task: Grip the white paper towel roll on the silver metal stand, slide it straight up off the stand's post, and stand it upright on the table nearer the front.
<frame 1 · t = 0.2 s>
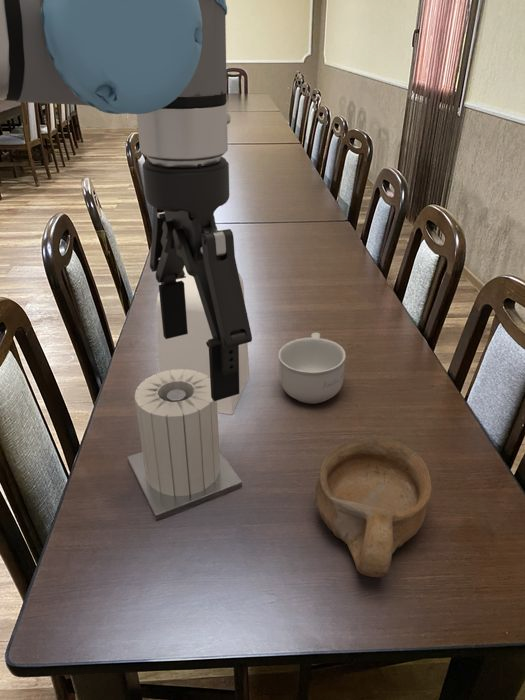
hand: (198, 363, 58), 22 cm above the table, tool pointing down, fingers open, 13 cm apart
towel stand: (183, 474, 74), on the table
teacup: (311, 388, 92), on the table
paper towel roll: (183, 468, 73), point 1 cm above the table, touching towel stand
milk: (207, 390, 91), on the table
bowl: (371, 533, 66), on the table
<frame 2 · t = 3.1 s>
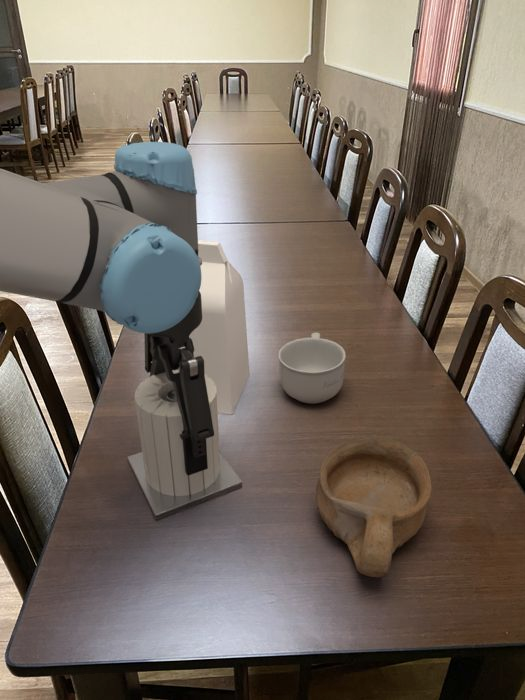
hand: (180, 445, 71), 5 cm above the table, tool pointing down, fingers closed on paper towel roll, 10 cm apart
paper towel roll: (183, 468, 73), point 1 cm above the table, touching gripper, towel stand
everything else where it was.
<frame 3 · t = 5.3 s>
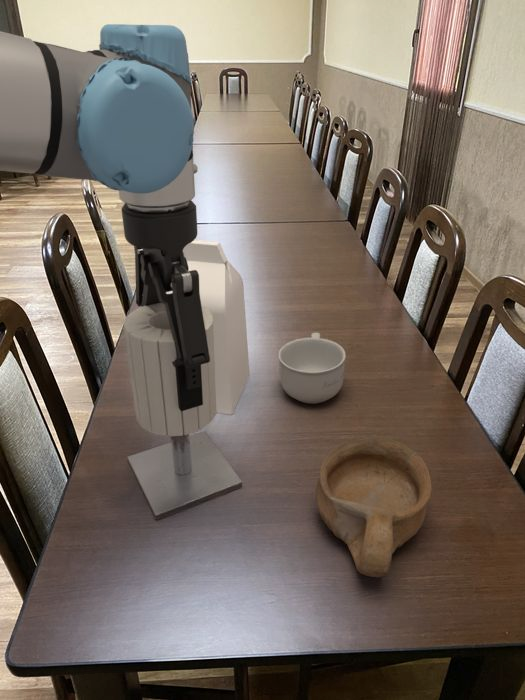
hand: (174, 383, 66), 15 cm above the table, tool pointing down, fingers closed on paper towel roll, 10 cm apart
paper towel roll: (176, 410, 68), point 11 cm above the table, touching gripper
everything else where it was.
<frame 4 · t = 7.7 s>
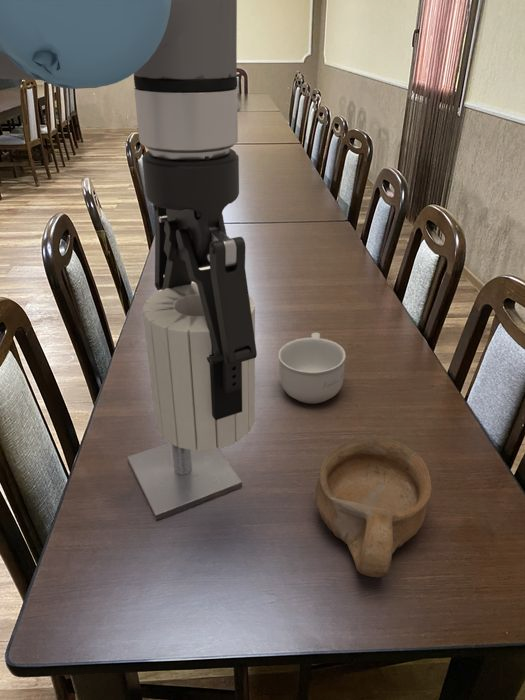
hand: (203, 384, 53), 22 cm above the table, tool pointing down, fingers closed on paper towel roll, 10 cm apart
paper towel roll: (205, 418, 55), point 18 cm above the table, touching gripper
everything else where it was.
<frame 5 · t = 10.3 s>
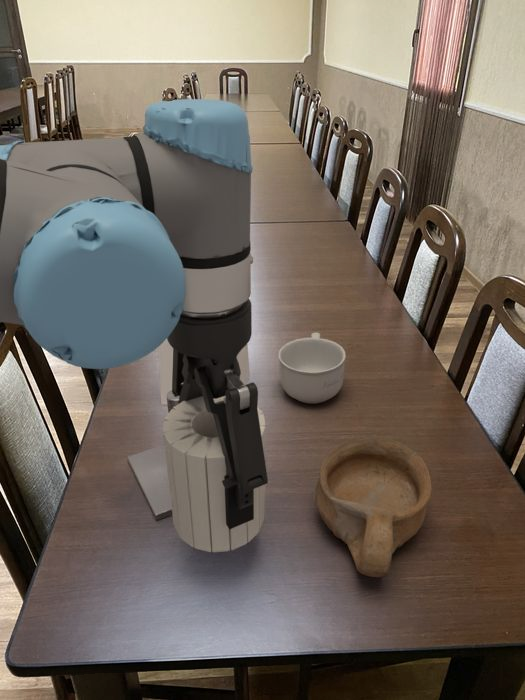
hand: (217, 487, 57), 11 cm above the table, tool pointing down, fingers closed on paper towel roll, 10 cm apart
paper towel roll: (219, 514, 60), point 6 cm above the table, touching gripper
everything else where it was.
when the fingers open (4 cm above the table, at t = 12.4 s): paper towel roll stays where it is, on the table.
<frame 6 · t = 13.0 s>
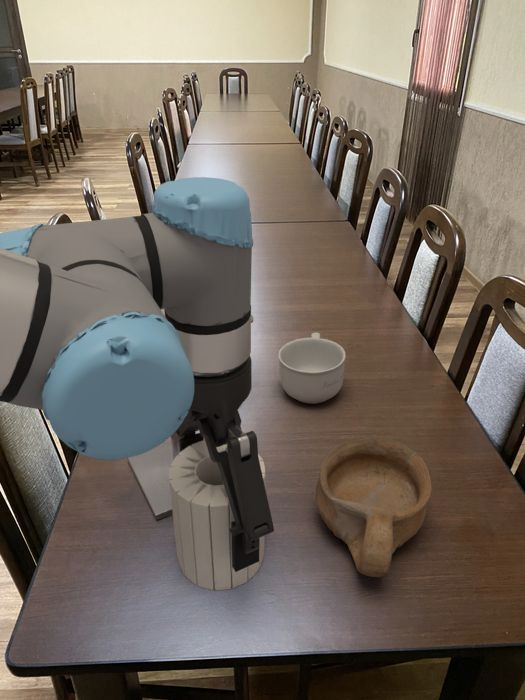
hand: (217, 518, 60), 6 cm above the table, tool pointing down, fingers open, 13 cm apart
paper towel roll: (221, 551, 63), on the table
everything else where it was.
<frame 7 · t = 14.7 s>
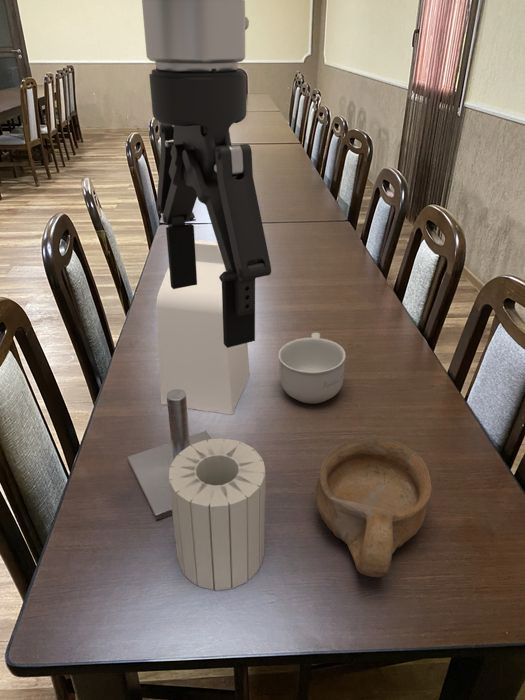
hand: (209, 311, 52), 29 cm above the table, tool pointing down, fingers open, 13 cm apart
nothing on the table moved.
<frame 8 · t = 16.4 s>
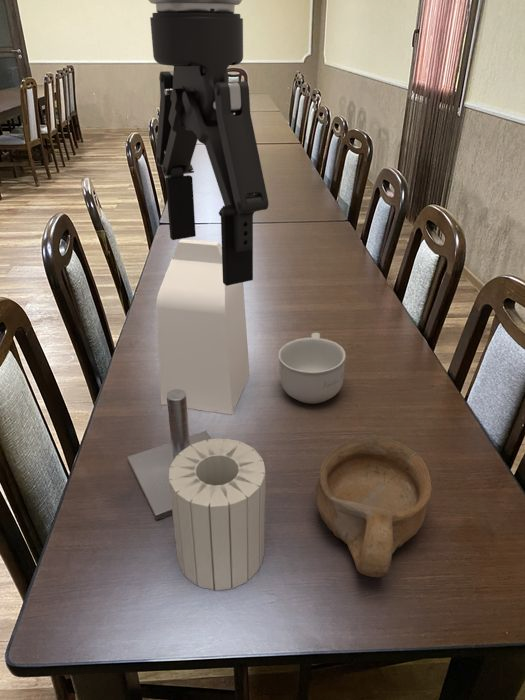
hand: (207, 257, 54), 33 cm above the table, tool pointing down, fingers open, 13 cm apart
nothing on the table moved.
at the end: paper towel roll inside the target area (0.1 cm from its centre), on the table; paper towel roll tilted 0°; the gripper is holding nothing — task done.
